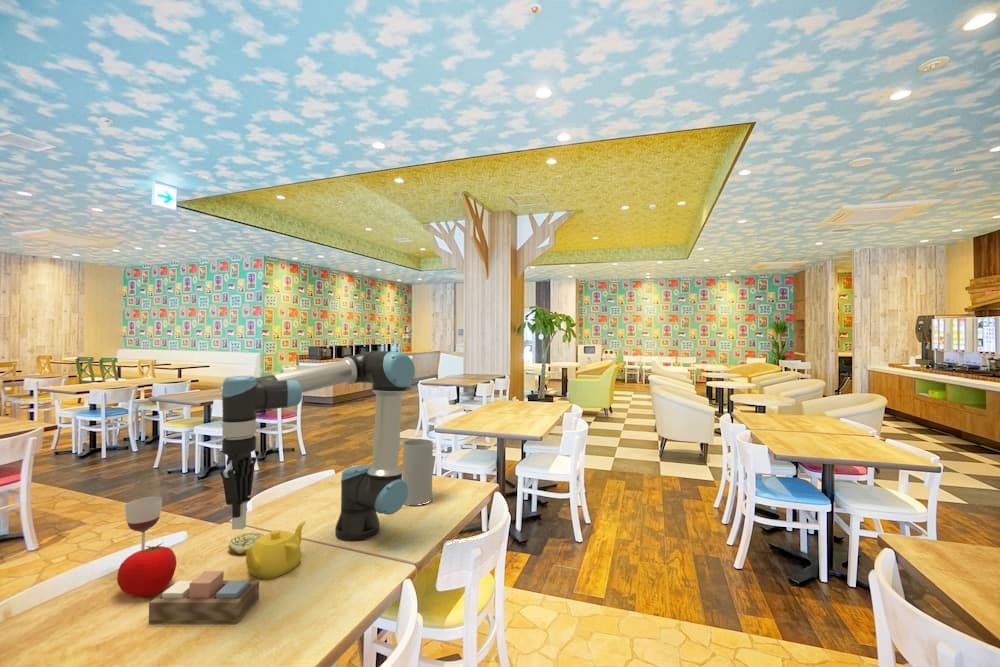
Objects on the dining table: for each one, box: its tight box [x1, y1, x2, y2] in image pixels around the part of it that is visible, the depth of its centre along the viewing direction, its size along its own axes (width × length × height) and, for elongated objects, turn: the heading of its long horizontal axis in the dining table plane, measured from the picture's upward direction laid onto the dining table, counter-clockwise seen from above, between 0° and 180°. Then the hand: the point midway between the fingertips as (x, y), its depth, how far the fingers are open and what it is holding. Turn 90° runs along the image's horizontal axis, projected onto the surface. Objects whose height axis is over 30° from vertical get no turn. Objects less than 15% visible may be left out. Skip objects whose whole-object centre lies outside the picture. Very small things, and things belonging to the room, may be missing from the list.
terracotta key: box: [189, 570, 225, 599], centre depth 113 cm, size 5×6×5 cm
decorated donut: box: [228, 532, 265, 556], centre depth 147 cm, size 10×11×4 cm
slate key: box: [216, 580, 250, 599], centre depth 113 cm, size 5×6×5 cm
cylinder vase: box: [402, 438, 434, 506], centre depth 192 cm, size 12×12×25 cm
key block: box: [148, 579, 260, 625], centre depth 113 cm, size 21×10×5 cm, turn 91°
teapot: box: [241, 520, 307, 580], centre depth 134 cm, size 22×16×11 cm
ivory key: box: [161, 580, 192, 599], centre depth 113 cm, size 5×6×5 cm
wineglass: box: [125, 496, 163, 551], centre depth 132 cm, size 8×9×20 cm
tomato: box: [116, 542, 177, 598], centre depth 121 cm, size 12×14×12 cm
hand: (239, 528), depth 116 cm, fingers closed
